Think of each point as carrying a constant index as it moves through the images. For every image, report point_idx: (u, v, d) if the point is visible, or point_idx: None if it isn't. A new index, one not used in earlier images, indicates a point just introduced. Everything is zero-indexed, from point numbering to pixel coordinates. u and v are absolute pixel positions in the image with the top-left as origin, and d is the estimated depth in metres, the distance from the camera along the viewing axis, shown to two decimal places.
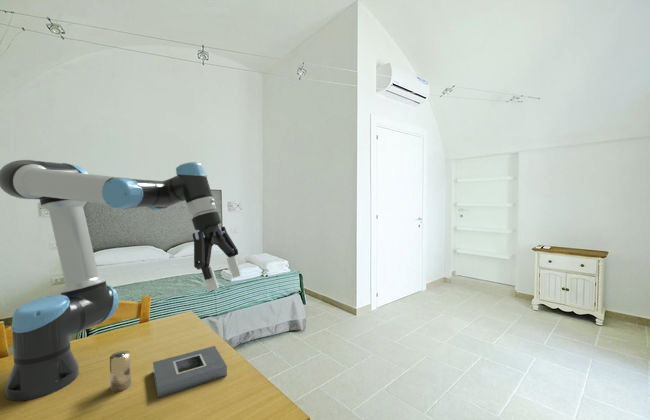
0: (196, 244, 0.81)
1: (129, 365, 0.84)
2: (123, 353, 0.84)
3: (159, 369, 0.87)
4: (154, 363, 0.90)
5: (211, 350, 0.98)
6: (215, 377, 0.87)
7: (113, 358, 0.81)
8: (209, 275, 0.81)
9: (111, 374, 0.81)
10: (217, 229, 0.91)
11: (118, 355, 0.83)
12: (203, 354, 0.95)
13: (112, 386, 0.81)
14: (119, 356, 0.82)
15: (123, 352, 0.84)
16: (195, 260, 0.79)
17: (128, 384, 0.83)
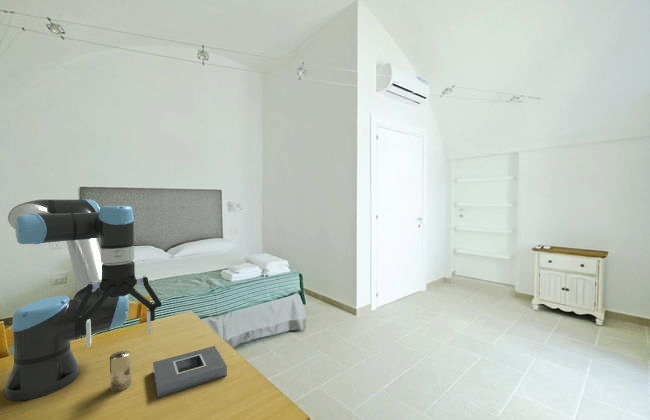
0: (84, 295, 0.78)
1: (129, 365, 0.84)
2: (123, 353, 0.84)
3: (159, 369, 0.87)
4: (154, 363, 0.90)
5: (211, 350, 0.98)
6: (215, 377, 0.87)
7: (113, 358, 0.81)
8: (83, 331, 0.78)
9: (111, 374, 0.81)
10: (129, 281, 0.83)
11: (118, 355, 0.83)
12: (203, 354, 0.95)
13: (112, 386, 0.81)
14: (119, 356, 0.82)
15: (123, 352, 0.84)
16: (74, 312, 0.78)
17: (128, 384, 0.83)
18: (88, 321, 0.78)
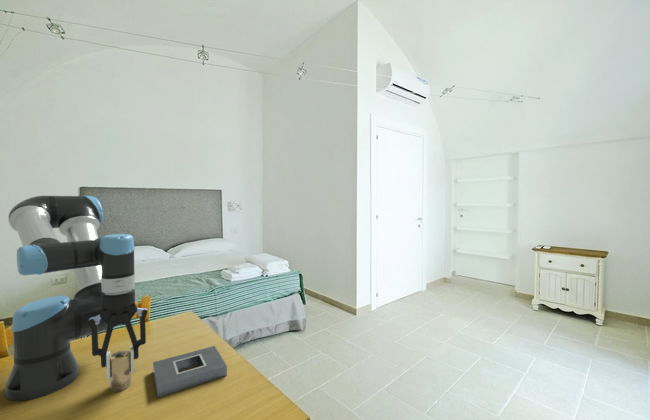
0: None
1: (129, 365, 0.84)
2: (123, 353, 0.84)
3: (159, 369, 0.87)
4: (154, 363, 0.90)
5: (211, 350, 0.98)
6: (215, 377, 0.87)
7: (113, 358, 0.81)
8: (103, 364, 0.81)
9: (111, 374, 0.81)
10: (130, 308, 0.83)
11: (118, 355, 0.83)
12: (203, 354, 0.95)
13: (112, 386, 0.81)
14: (119, 356, 0.82)
15: (123, 352, 0.84)
16: None
17: (128, 384, 0.83)
18: (108, 354, 0.81)
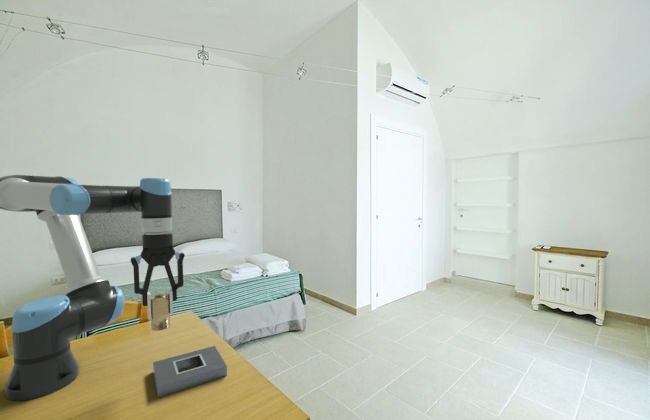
0: None
1: (168, 306, 0.86)
2: (162, 294, 0.86)
3: (159, 369, 0.87)
4: (154, 363, 0.90)
5: (211, 350, 0.98)
6: (215, 377, 0.87)
7: (153, 297, 0.84)
8: (144, 303, 0.83)
9: (152, 313, 0.84)
10: (169, 250, 0.86)
11: (158, 296, 0.85)
12: (203, 354, 0.95)
13: (153, 325, 0.84)
14: (159, 296, 0.85)
15: (162, 294, 0.87)
16: None
17: (168, 324, 0.85)
18: (149, 293, 0.84)
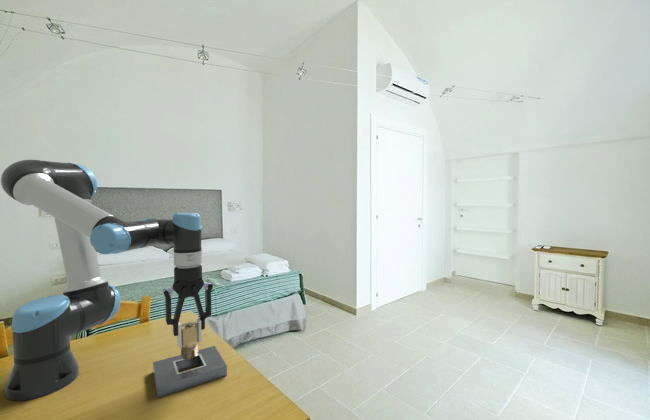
0: (165, 301, 0.86)
1: (197, 335, 0.89)
2: (191, 324, 0.90)
3: (159, 369, 0.87)
4: (154, 363, 0.90)
5: (211, 350, 0.98)
6: (215, 377, 0.87)
7: (184, 327, 0.87)
8: (175, 333, 0.86)
9: (182, 342, 0.87)
10: (198, 281, 0.89)
11: (188, 325, 0.89)
12: (203, 354, 0.95)
13: (183, 354, 0.87)
14: (189, 326, 0.88)
15: (191, 323, 0.90)
16: None
17: (197, 352, 0.89)
18: (179, 324, 0.87)
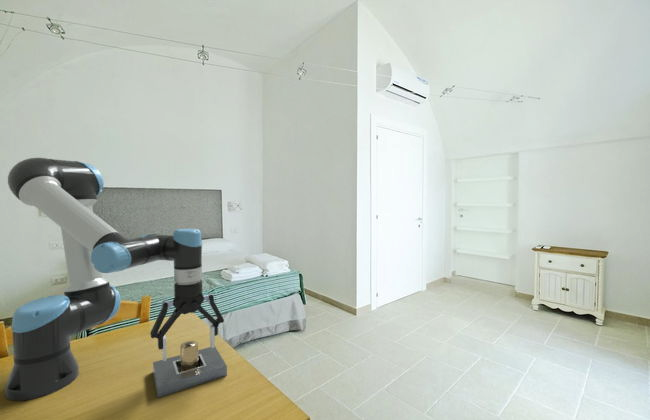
0: (160, 313, 0.85)
1: (197, 354, 0.90)
2: (191, 343, 0.90)
3: (159, 369, 0.87)
4: (154, 363, 0.90)
5: (211, 350, 0.98)
6: (215, 377, 0.87)
7: (184, 347, 0.88)
8: (160, 346, 0.84)
9: (182, 362, 0.87)
10: (197, 298, 0.89)
11: (188, 345, 0.89)
12: (203, 354, 0.95)
13: None
14: (189, 345, 0.88)
15: (191, 342, 0.91)
16: (152, 328, 0.84)
17: None
18: (164, 336, 0.85)
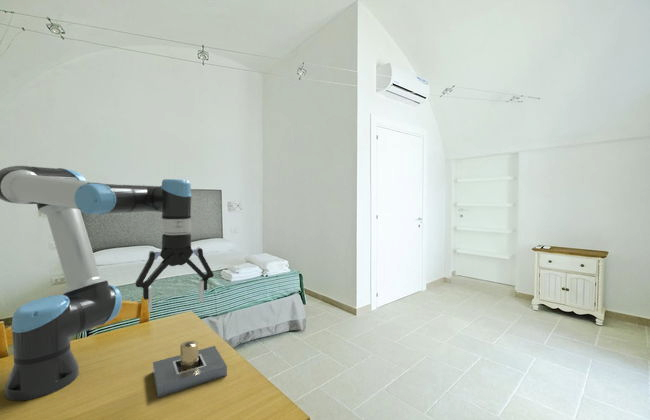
0: (146, 263, 0.83)
1: (197, 354, 0.90)
2: (191, 343, 0.90)
3: (159, 369, 0.87)
4: (154, 363, 0.90)
5: (211, 350, 0.98)
6: (215, 377, 0.87)
7: (184, 347, 0.88)
8: (145, 296, 0.82)
9: (182, 362, 0.87)
10: (186, 251, 0.87)
11: (188, 345, 0.89)
12: (203, 354, 0.95)
13: None
14: (189, 345, 0.88)
15: (191, 342, 0.91)
16: (138, 278, 0.82)
17: None
18: (150, 287, 0.83)
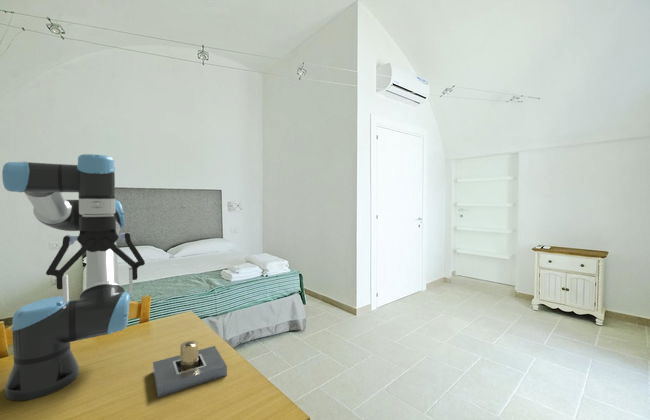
0: None
1: (197, 354, 0.90)
2: (191, 343, 0.90)
3: (159, 369, 0.87)
4: (154, 363, 0.90)
5: (211, 350, 0.98)
6: (215, 377, 0.87)
7: (184, 347, 0.88)
8: (59, 286, 0.73)
9: (182, 362, 0.87)
10: (109, 235, 0.78)
11: (188, 345, 0.89)
12: (203, 354, 0.95)
13: None
14: (189, 345, 0.88)
15: (191, 342, 0.91)
16: None
17: None
18: (65, 275, 0.74)
